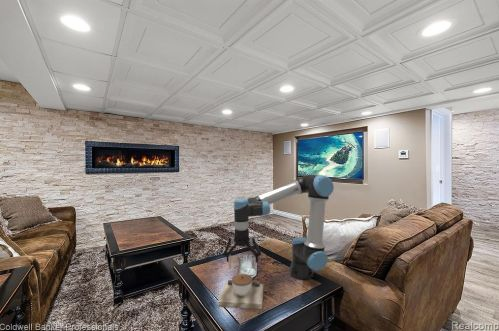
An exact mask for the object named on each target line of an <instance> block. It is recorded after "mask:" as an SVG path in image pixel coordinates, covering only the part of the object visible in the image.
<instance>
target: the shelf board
mask: <svg viewBox="0 0 499 331" xmlns="http://www.w3.org/2000/svg"><path fill="white" fill-rule="evenodd" d="M263 299H264V284H262V283H260V281H255V280H252V287H251V290H250V292H249V293H248V294H247V295H246V296H238V295H237V294H236V293H235V291H234V290H233V285H232V279H228V281H227V282H224V285H223V288H222V290H221V293H220V296H219V298H218V300H217V307H222V308H223V307H224V308H235V309H237V308H238V309H252V310H253V309H254V310H262V309H263Z"/></svg>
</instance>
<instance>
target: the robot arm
mask: <svg viewBox="0 0 499 331" xmlns="http://www.w3.org/2000/svg"><path fill="white" fill-rule="evenodd" d="M333 192H334V183H333V181H332V179H331V178H330V177H328V176H327V175H323V174H307V175H304V176H301V177H298V178H297V179H294V180H293V181H292V182H290V183H288V184H284V185H283V186H280V187H277V188H274V189H272V190H270V191H267V192H265V193H264V192H263V193H262V194H260V195H256V196H253V197H247V198H237V199H235V200H234V201H233V204H234V205H233V211H234V212H233V216H234V218H233V219H234V225H233V226H234V237H232V236H230V237H229V238H228V243H227V245H226V247H225V249H224V250H223V253H222V254H223V256H226V263H228V269H229V270H230V269H231V268H232V255H231V254H232V252H233V251H234V250H235V249H236V248H237V247H244V248H245V247H247V248H248V249H249V251H250V252H251V253H252V254H253V268H254V270H256V269H257V263H258V262H259V257H261V256H262V251H261V249H260V247H259V246H258V244H257V242H256V237H255V236H253V237H250V236H249V235H250V234H249V232H250V231H249V230H250V229H249V228H250V227H249V226H250V224H249V218H251V217H264V216H268V215H269V214H270V213H271V205H272V204H274V203H278V202H280V201H282V200H286V199H287V198H290V197H292V196H294V195H302V194H307V198H308V199H309V201H310V202H309V212H308V226H307V237H303V236H302V237H300V236H299V237H295V238H293V239H292V240H291V247H292V248H291V249H292V250H291V252H292V253H291V254H292V256H291V259H292V260H291V263H290V267H289V275H290V277H292V278H294V279H297V280H300V279H308V280H310V279H309V278H311V277H312V276H313V274H314V271H322V270H323V269H324V268H325V267H326V266H327V264H328V262H329V257H328V255H327V253H326V252H325V248H326V247H325V245H324V243H323V238H324V223H325V214H326V213H325V212H326V203H327V202H328V200H329V197H330V196H331V195H332V194H333ZM232 242H235V243H234V244H233V245H232V247H231V248H230V245H231V243H232ZM250 242H251V243H252V245H253V246H252V245H251V243H250ZM229 248H230V249H229ZM228 249H229V250H228ZM314 275H315V274H314ZM313 277H314V276H313ZM311 279H312V278H311Z"/></svg>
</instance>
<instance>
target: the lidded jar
mask: <svg viewBox="0 0 499 331" xmlns="http://www.w3.org/2000/svg"><path fill="white" fill-rule="evenodd" d="M231 280H232V285H233V290H234V291H235V293H236V294H237V295H238V296H246V295H247V294H248V293H249V292H250V290H251V287H252V281H253V277H252V276H251V275H250V274H246V273H237V274H234V276H232V278H231Z"/></svg>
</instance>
